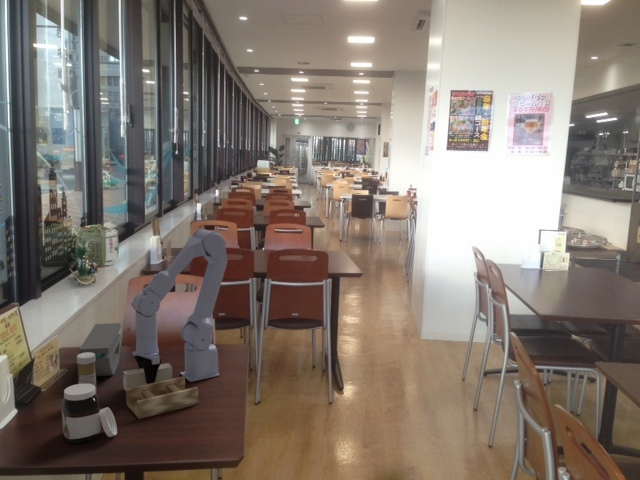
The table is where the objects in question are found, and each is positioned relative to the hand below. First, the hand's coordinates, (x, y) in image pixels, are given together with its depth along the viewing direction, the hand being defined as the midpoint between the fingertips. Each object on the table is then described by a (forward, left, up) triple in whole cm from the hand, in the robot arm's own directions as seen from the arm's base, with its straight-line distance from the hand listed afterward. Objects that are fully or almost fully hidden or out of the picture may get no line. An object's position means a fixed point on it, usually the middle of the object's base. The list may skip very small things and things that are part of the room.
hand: (148, 381), depth 168 cm
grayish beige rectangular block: (0, 0, -1) cm, 1 cm away
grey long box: (+7, -21, -2) cm, 22 cm away
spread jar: (+21, +21, -2) cm, 30 cm away
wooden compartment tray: (+1, +14, -2) cm, 14 cm away
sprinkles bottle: (+17, +2, -2) cm, 17 cm away
